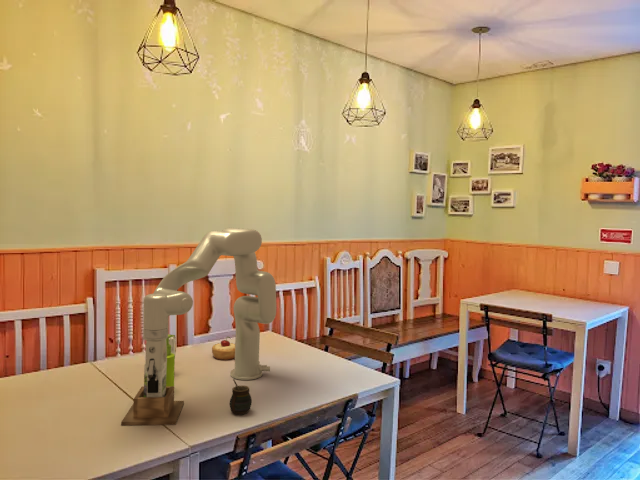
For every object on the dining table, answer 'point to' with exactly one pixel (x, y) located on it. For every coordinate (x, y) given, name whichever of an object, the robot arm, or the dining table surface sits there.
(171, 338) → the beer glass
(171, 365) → the soap dispenser
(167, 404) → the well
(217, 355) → the pastry
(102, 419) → the dining table surface
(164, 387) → the syrup box
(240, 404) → the mate gourd
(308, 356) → the dining table surface
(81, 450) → the dining table surface
